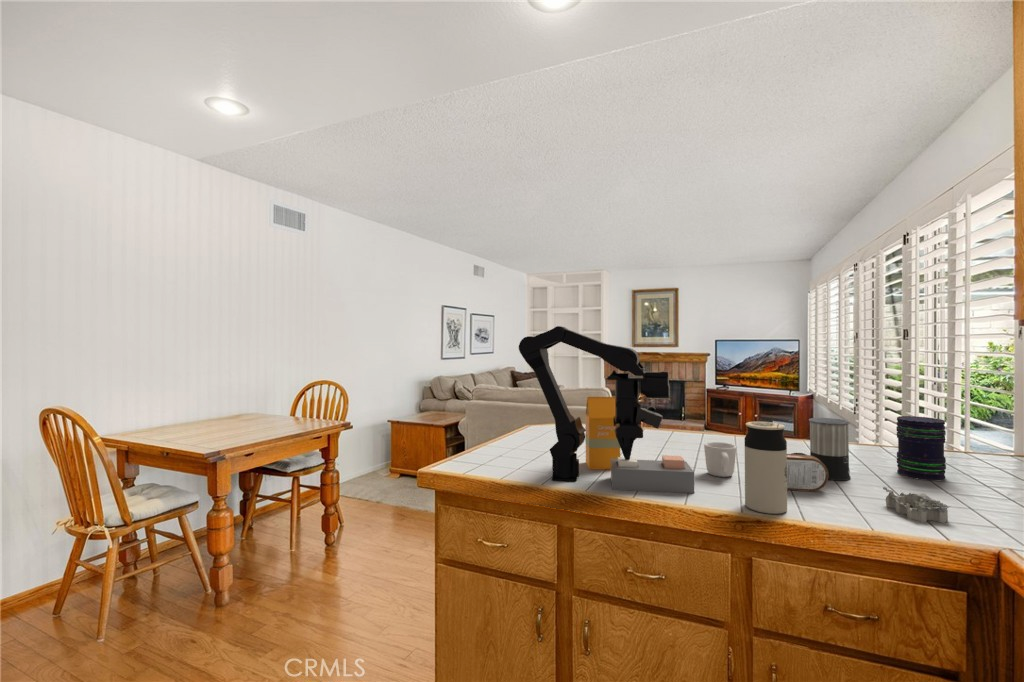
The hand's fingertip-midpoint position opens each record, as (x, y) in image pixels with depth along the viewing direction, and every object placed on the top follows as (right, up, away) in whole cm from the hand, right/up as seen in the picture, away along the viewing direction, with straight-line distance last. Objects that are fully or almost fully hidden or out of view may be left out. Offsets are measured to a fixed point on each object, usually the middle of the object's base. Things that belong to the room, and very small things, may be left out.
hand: (627, 459), depth 119 cm
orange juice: (-3, -7, +18) cm, 19 cm away
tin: (+39, -6, -5) cm, 40 cm away
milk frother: (+53, -6, +10) cm, 55 cm away
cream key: (0, -4, 0) cm, 4 cm away
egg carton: (+55, -6, -21) cm, 59 cm away
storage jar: (+79, -6, +6) cm, 80 cm away
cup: (+27, -6, +6) cm, 28 cm away
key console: (+5, -6, -1) cm, 8 cm away
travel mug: (+25, -6, -18) cm, 32 cm away
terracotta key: (+11, -3, -2) cm, 12 cm away
